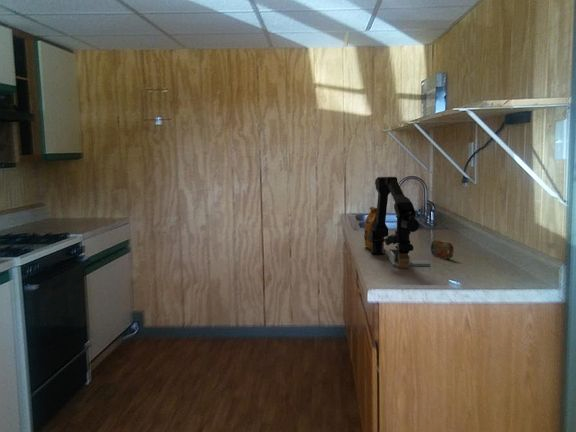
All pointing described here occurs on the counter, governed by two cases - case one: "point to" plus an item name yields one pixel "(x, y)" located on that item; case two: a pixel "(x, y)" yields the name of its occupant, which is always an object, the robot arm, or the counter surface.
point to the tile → (419, 263)
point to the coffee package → (370, 226)
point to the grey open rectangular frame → (395, 255)
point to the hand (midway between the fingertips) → (402, 262)
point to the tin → (442, 249)
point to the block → (403, 260)
